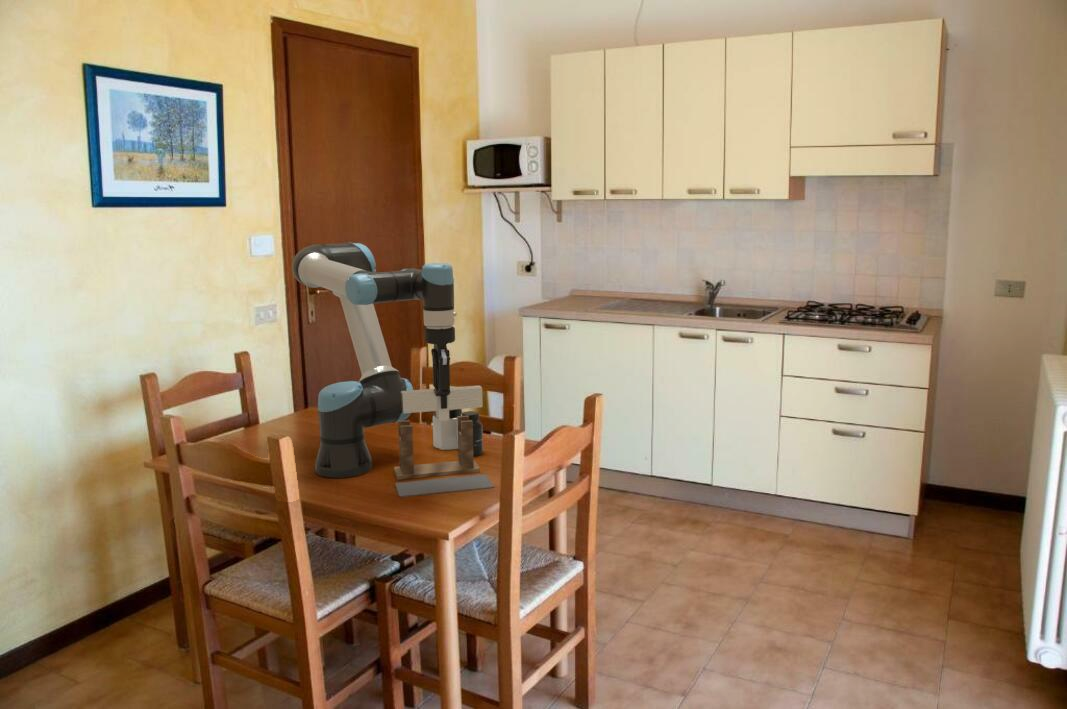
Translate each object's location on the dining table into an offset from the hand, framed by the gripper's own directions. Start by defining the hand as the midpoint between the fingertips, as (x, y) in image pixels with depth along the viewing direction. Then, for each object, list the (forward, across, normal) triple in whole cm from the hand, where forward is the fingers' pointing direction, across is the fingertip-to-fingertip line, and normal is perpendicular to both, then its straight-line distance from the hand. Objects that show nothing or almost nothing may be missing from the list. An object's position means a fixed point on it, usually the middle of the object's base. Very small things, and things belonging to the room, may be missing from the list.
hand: (442, 418), depth 213 cm
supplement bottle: (+18, +25, -12) cm, 33 cm away
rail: (-2, 0, 0) cm, 2 cm away
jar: (+18, +34, -7) cm, 39 cm away
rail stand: (+18, +12, 0) cm, 22 cm away
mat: (+18, 0, 0) cm, 18 cm away
